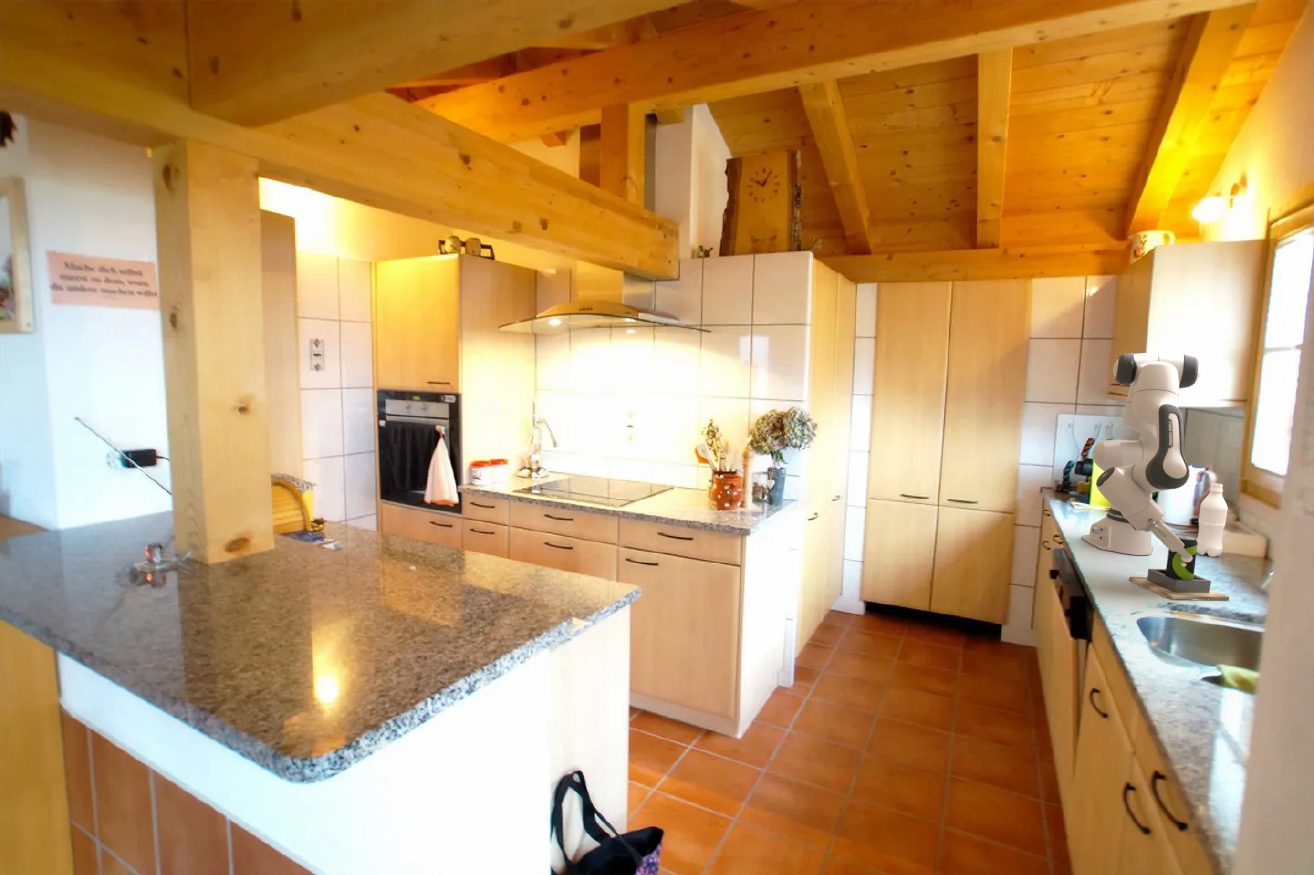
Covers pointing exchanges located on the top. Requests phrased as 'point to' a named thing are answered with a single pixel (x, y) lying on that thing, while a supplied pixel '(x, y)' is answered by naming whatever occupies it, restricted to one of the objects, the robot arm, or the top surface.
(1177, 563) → the beverage can
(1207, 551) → the water bottle
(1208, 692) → the top surface
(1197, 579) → the gray open box
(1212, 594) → the docking plate
